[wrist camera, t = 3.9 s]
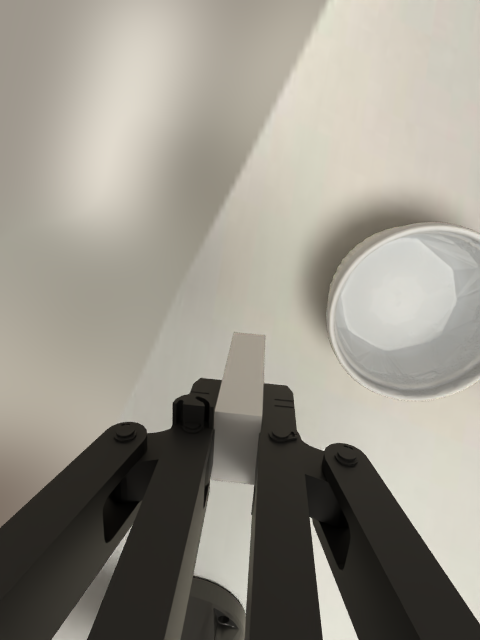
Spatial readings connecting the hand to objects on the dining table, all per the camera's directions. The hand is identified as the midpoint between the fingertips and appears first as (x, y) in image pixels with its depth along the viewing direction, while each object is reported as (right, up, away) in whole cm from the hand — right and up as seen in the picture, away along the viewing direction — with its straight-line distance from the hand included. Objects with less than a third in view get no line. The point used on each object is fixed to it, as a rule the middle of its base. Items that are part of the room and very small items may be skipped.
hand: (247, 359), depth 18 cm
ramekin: (+13, +4, +15) cm, 20 cm away
